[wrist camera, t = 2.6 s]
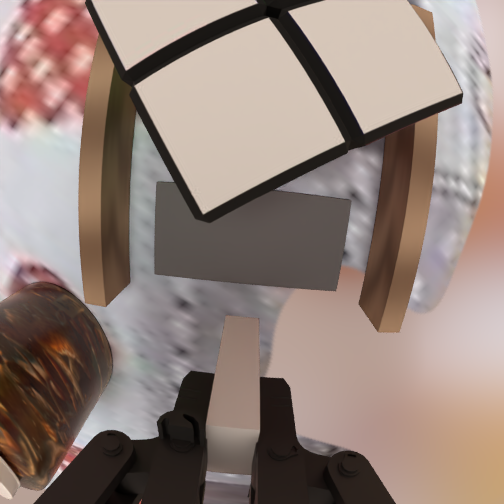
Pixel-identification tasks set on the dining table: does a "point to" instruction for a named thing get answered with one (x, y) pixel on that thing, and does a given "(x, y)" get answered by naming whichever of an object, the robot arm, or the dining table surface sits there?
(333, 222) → the pad
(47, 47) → the dining table surface
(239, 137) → the puzzle cube
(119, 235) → the channel
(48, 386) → the jar
